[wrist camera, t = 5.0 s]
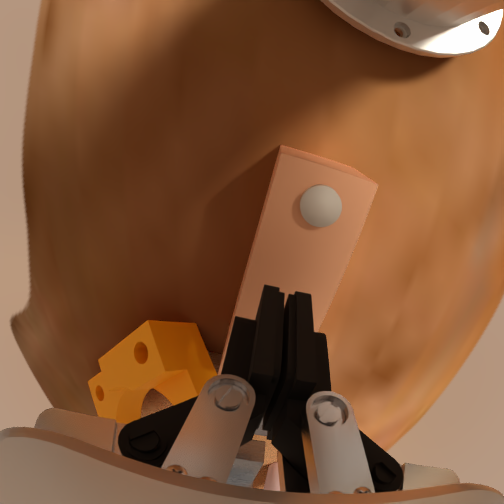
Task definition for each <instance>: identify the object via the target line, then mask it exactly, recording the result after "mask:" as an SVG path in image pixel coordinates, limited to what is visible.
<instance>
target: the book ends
mask: <svg viewBox="0 0 504 504" xmlns="http://www.w3.org/2000/svg"><path fill="white" fill-rule="evenodd" d="M208 354H209V356H210V359H211V361H212V363H213V366H214V368H215V370H216V372H217V375H218V372H219V367H220V363H221V359H222V355H223V354H218V353H214V352H209V351H208ZM262 425H263V419H262V421H261V423H260V425H259V428H258V429H256V431H255V433H254V434H256V435H262V436H267V431H265V430H262ZM264 453H265V442H262V441H256V440H251V441H249V442H248V443H246V444H244V445H242V446H241V447H239V450H238V453H237V455H236V458H235V461H234V463H233V466H232V469H231V472H230V474H229V477H228V479H227V482H226V484H230V485H236V486H242V487H249V488H253V481H254V479H255V477H256V475H257V474H258V472H259V470H260V468H261V467H262V465H263V463H264Z"/></svg>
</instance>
